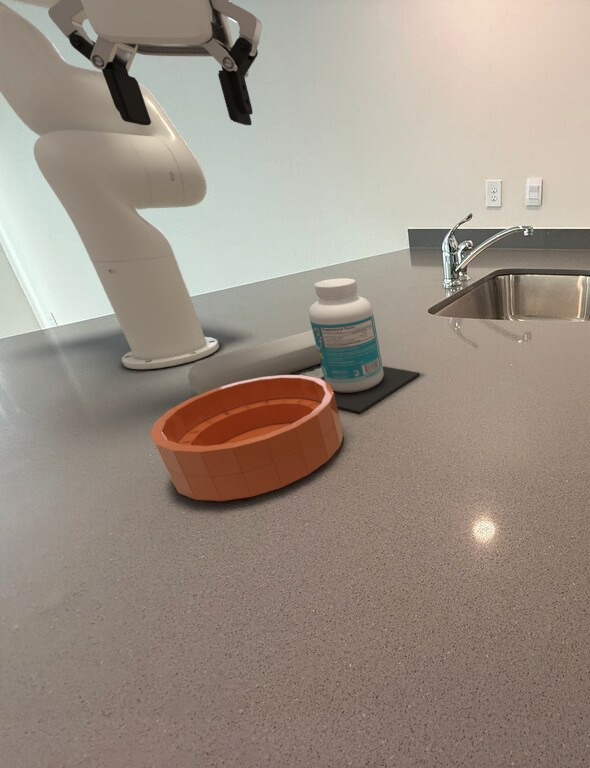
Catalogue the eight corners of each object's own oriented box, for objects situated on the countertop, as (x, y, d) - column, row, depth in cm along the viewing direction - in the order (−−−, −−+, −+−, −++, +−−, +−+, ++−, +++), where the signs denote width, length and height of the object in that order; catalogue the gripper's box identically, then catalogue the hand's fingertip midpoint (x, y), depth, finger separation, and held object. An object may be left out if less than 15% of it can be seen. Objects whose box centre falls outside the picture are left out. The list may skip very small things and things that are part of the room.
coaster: (287, 397, 52) (286, 394, 52) (354, 363, 62) (354, 361, 62) (360, 414, 48) (359, 411, 48) (419, 375, 58) (419, 372, 57)
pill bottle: (336, 373, 58) (314, 277, 52) (389, 370, 58) (373, 274, 53) (318, 397, 51) (291, 289, 45) (378, 393, 52) (358, 287, 46)
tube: (194, 379, 48) (375, 325, 65) (175, 356, 50) (355, 310, 68) (204, 412, 51) (374, 352, 69) (186, 389, 53) (355, 337, 71)
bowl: (139, 480, 37) (113, 429, 35) (278, 408, 49) (265, 367, 47) (246, 525, 32) (224, 468, 30) (373, 432, 44) (364, 387, 42)
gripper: (249, -90, 37) (294, 128, 45) (41, -100, 36) (124, 128, 43) (203, -152, 31) (265, 117, 38) (-57, -168, 29) (62, 117, 36)
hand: (190, 123), depth 40 cm, fingers open, 9 cm apart
